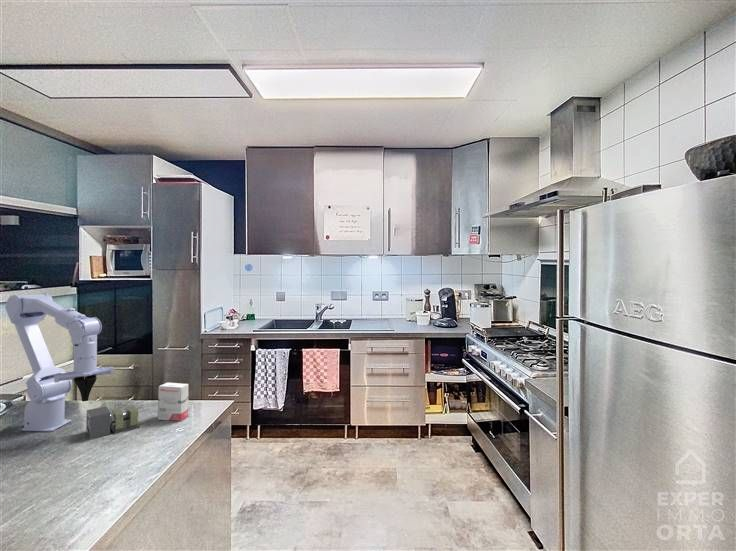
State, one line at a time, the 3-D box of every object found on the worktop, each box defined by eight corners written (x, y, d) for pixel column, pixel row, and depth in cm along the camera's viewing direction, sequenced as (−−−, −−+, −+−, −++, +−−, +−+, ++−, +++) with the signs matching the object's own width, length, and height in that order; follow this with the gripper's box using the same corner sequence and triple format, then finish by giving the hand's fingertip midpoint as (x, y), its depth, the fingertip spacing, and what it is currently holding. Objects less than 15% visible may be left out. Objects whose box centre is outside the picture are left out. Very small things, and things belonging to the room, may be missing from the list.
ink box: (189, 416, 128) (189, 383, 127) (180, 421, 123) (181, 387, 123) (166, 414, 128) (167, 381, 128) (156, 419, 124) (157, 385, 123)
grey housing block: (89, 439, 108) (90, 416, 108) (86, 431, 113) (86, 410, 113) (110, 434, 112) (110, 412, 112) (105, 426, 117) (106, 406, 117)
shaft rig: (90, 440, 108) (90, 420, 108) (85, 431, 113) (86, 412, 113) (140, 427, 117) (140, 409, 117) (133, 419, 123) (134, 402, 123)
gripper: (55, 363, 104) (55, 409, 104) (115, 355, 114) (115, 398, 114) (53, 358, 109) (53, 403, 109) (111, 351, 119) (111, 392, 119)
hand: (84, 400), depth 112 cm, fingers closed
